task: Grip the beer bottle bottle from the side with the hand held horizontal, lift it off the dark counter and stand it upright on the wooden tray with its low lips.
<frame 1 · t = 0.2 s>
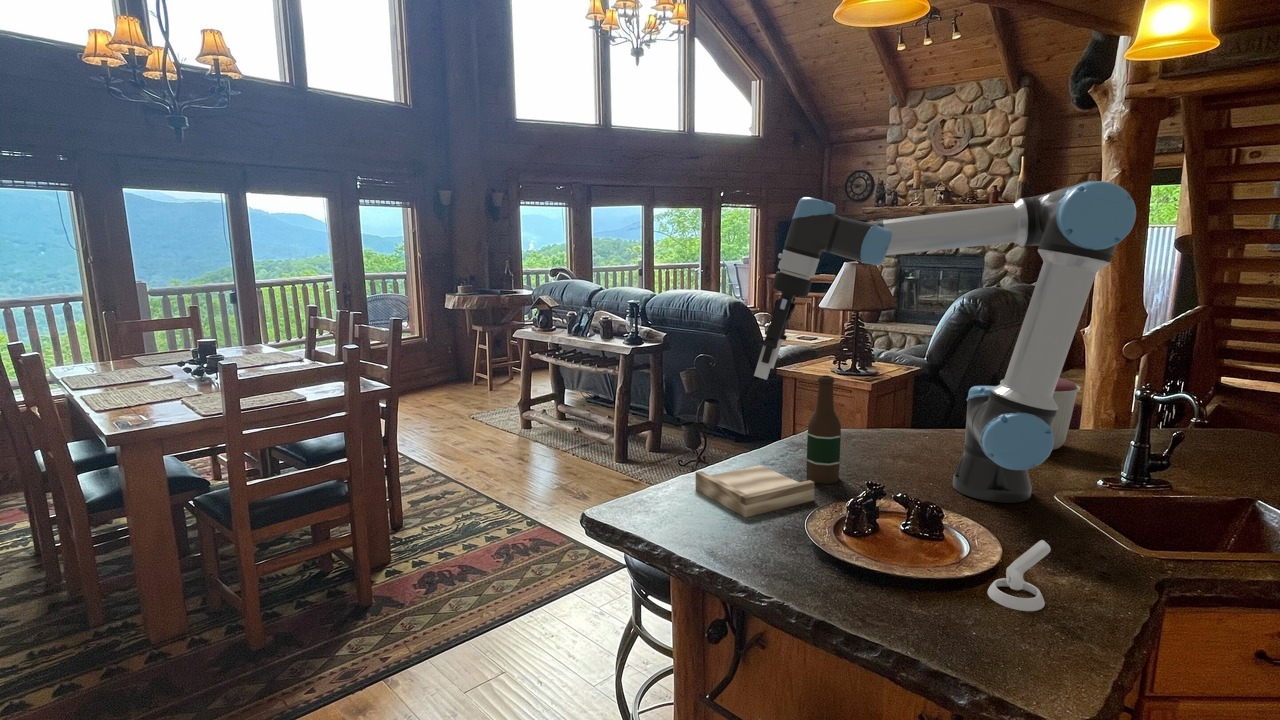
hand: (764, 372, 143), 27 cm above the counter, tool tilted 15°, fingers open, 13 cm apart
canister: (1033, 445, 179), on the counter
wooden tray: (753, 494, 146), on the counter
beer bottle: (822, 479, 156), on the counter
white ring with handle: (1015, 599, 103), on the counter
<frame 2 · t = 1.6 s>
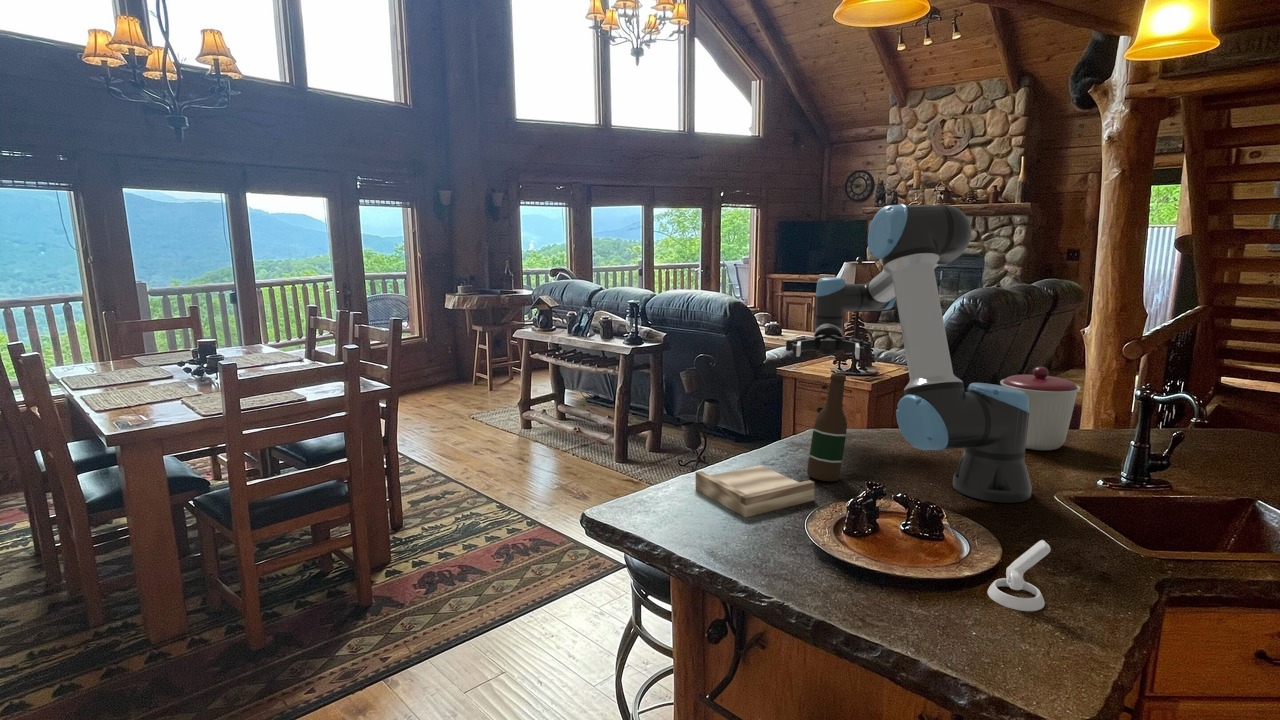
hand: (827, 352, 160), 28 cm above the counter, tool horizontal, fingers open, 13 cm apart
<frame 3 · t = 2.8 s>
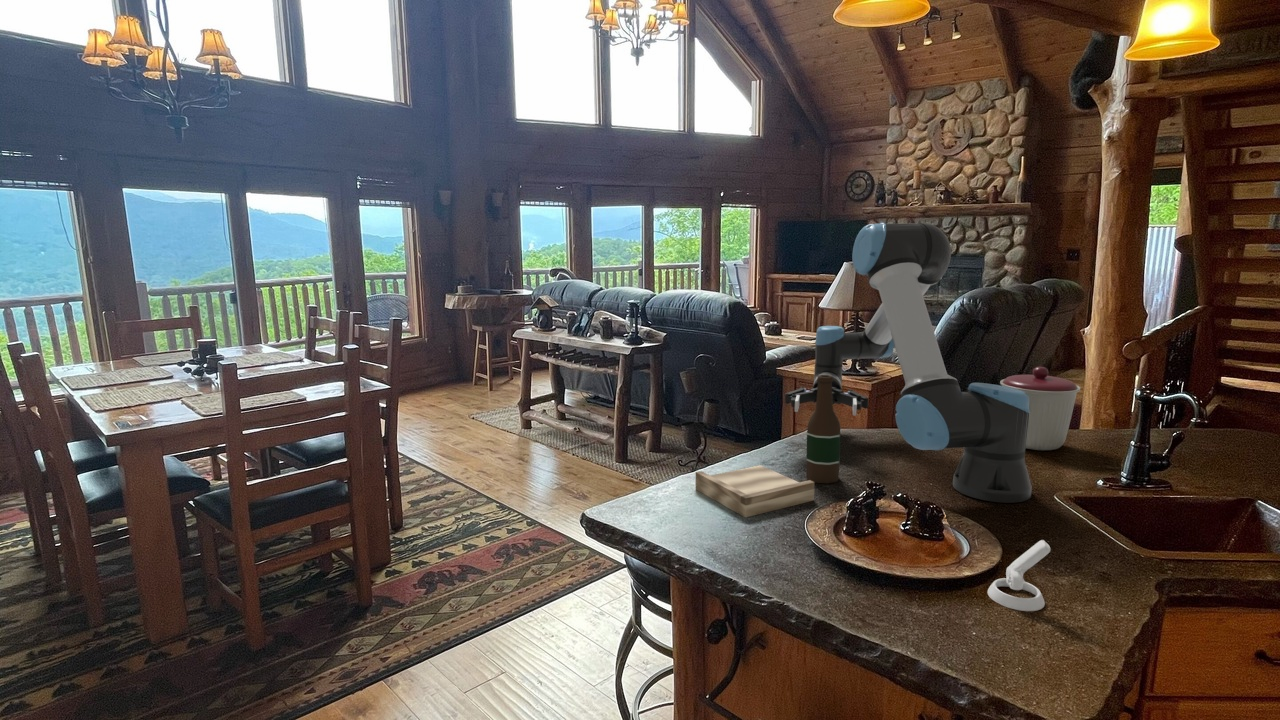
hand: (825, 408, 162), 14 cm above the counter, tool horizontal, fingers open, 13 cm apart
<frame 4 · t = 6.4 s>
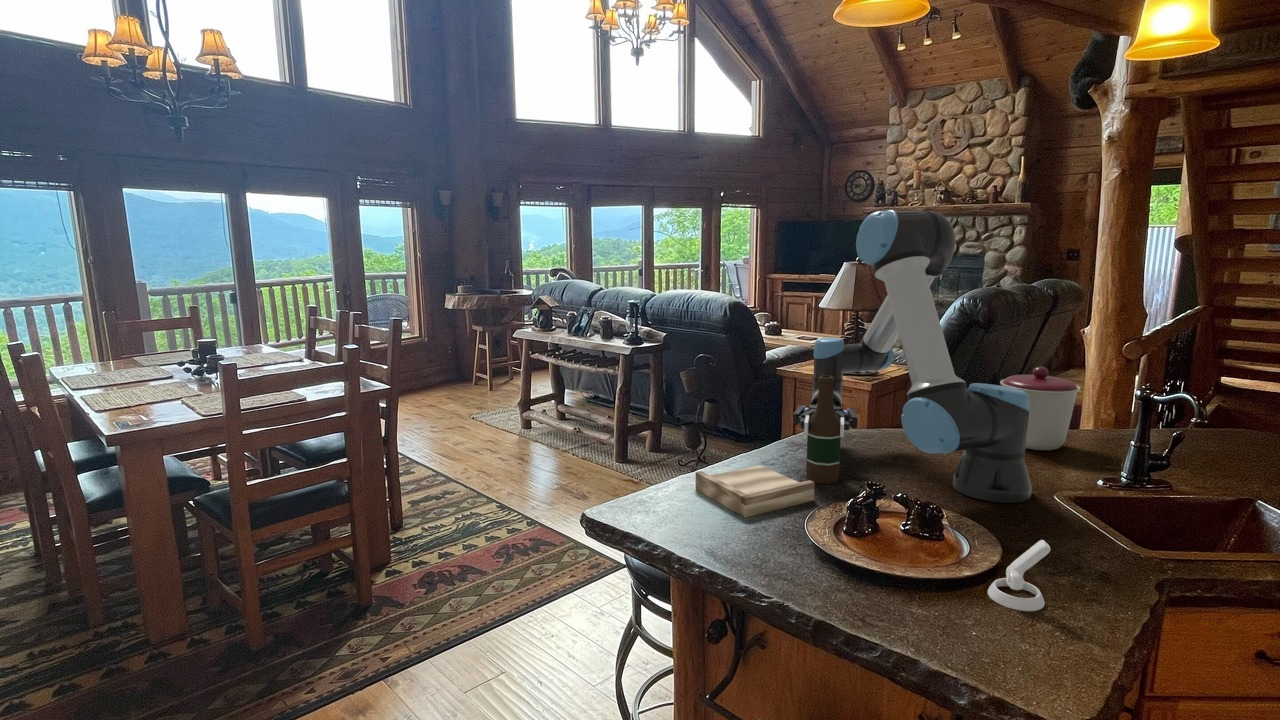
hand: (824, 429, 149), 13 cm above the counter, tool horizontal, fingers closed on beer bottle, 7 cm apart
beer bottle: (822, 479, 156), on the counter, touching gripper
everything else where it was.
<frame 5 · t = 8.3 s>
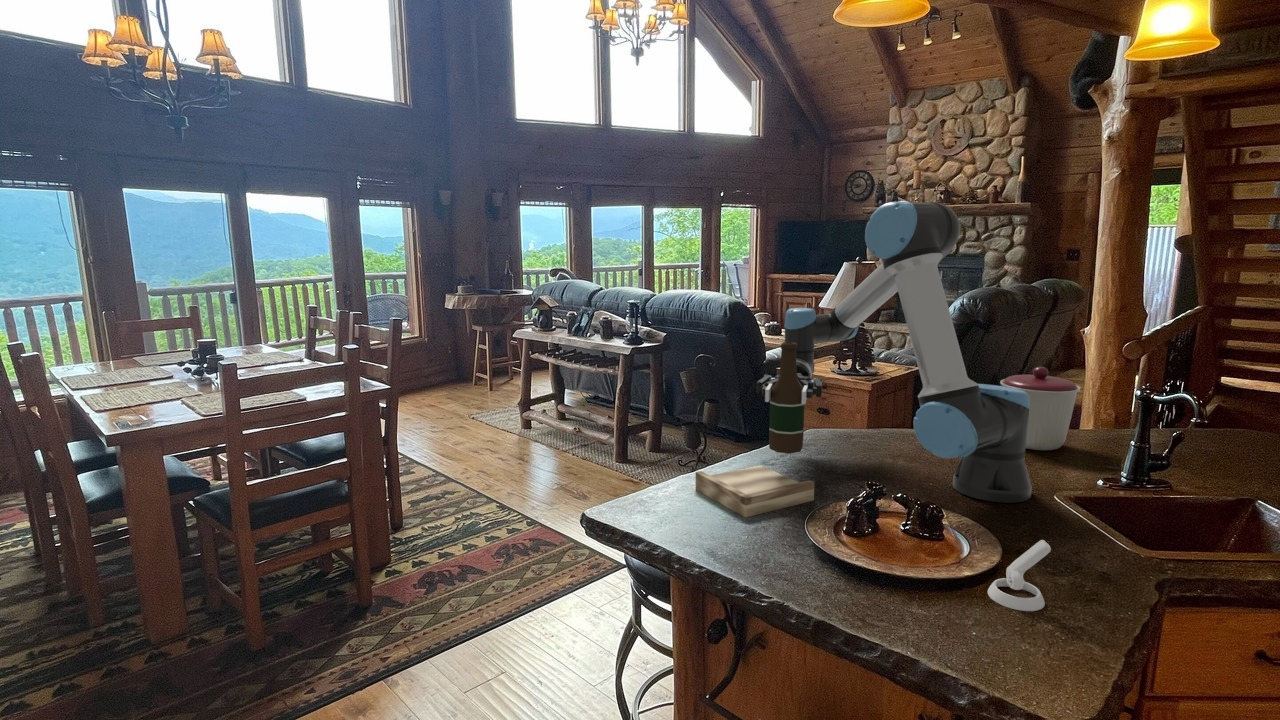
hand: (785, 396, 144), 21 cm above the counter, tool horizontal, fingers closed on beer bottle, 7 cm apart
beer bottle: (785, 449, 151), point 8 cm above the counter, touching gripper
everything else where it was.
when the fingers open (17 cm above the counter, at t = 10.4 s): beer bottle drops 1 cm, resting on wooden tray.
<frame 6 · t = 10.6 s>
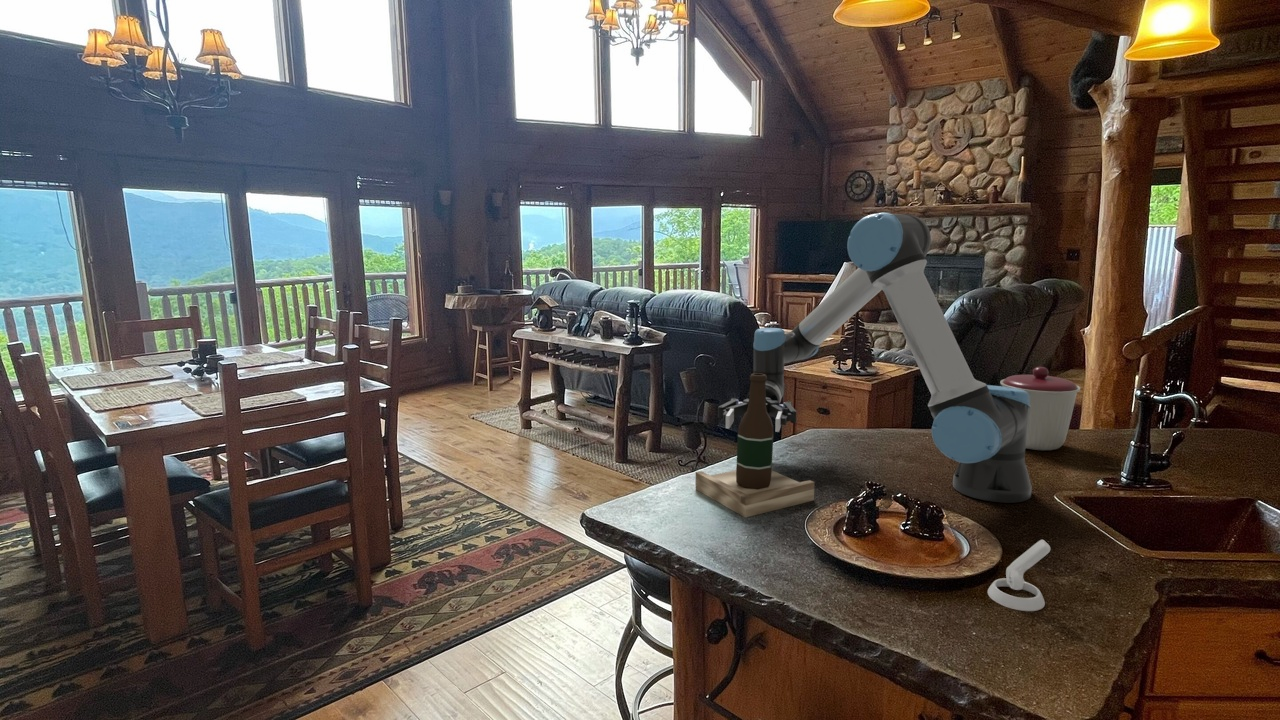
hand: (752, 423, 139), 17 cm above the counter, tool horizontal, fingers open, 9 cm apart
beer bottle: (753, 484, 146), point 2 cm above the counter, touching wooden tray
everything else where it was.
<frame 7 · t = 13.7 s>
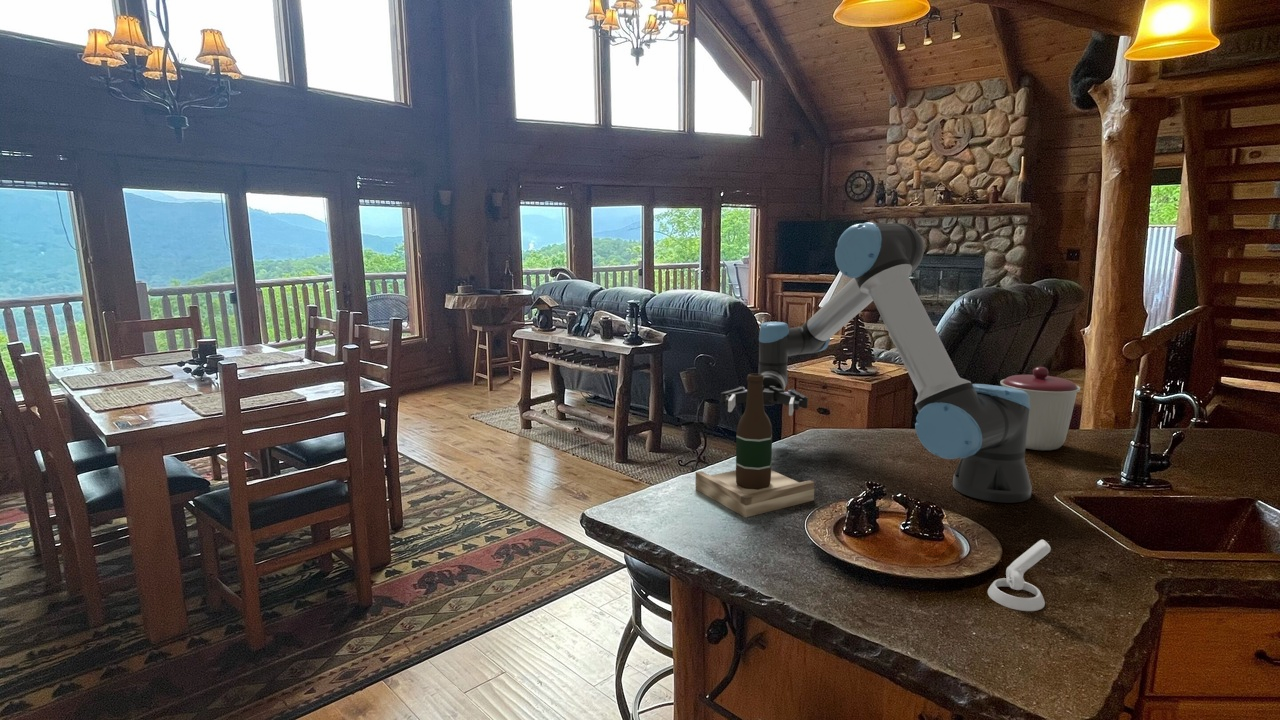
hand: (759, 408, 152), 17 cm above the counter, tool horizontal, fingers open, 13 cm apart
nothing on the counter moved.
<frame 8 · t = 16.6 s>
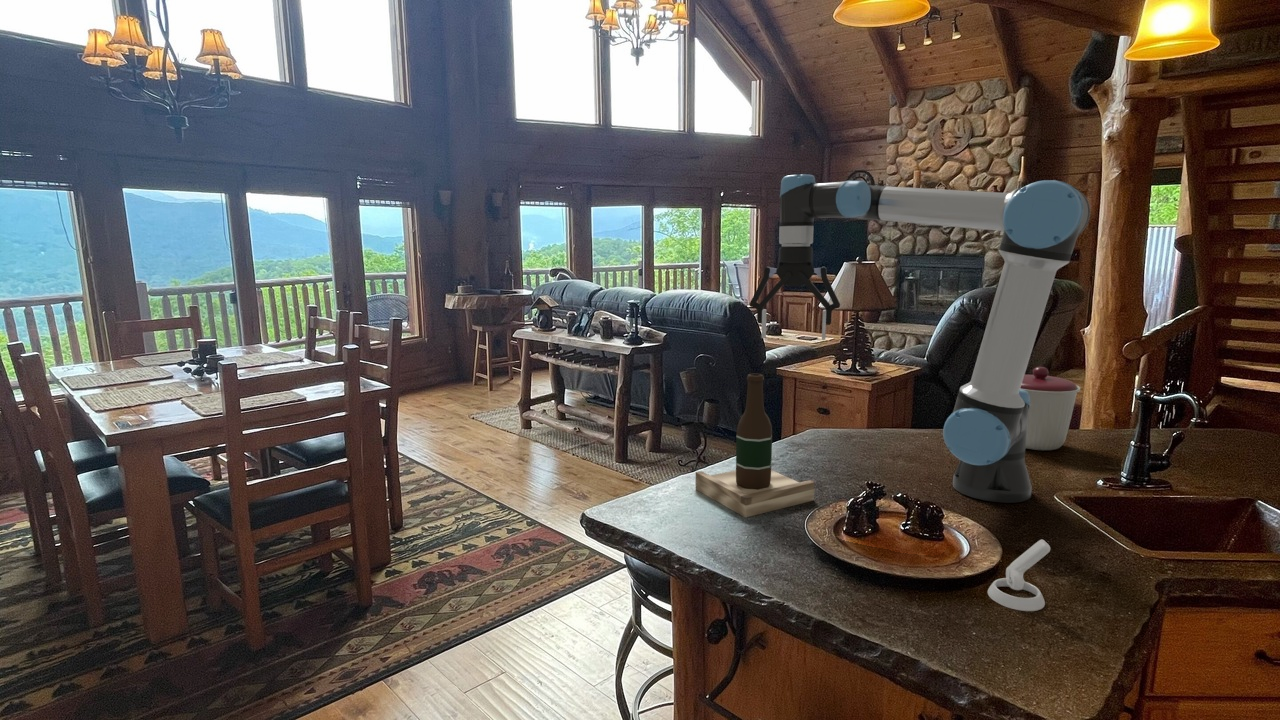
hand: (793, 338, 157), 32 cm above the counter, tool pointing down, fingers open, 13 cm apart
nothing on the counter moved.
at the end: beer bottle inside the target area on the wooden tray (0.0 cm from its centre), point 2.3 cm above the wooden tray's base; beer bottle tilted 0°; the gripper is holding nothing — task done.
